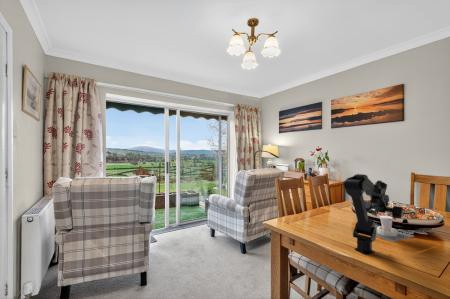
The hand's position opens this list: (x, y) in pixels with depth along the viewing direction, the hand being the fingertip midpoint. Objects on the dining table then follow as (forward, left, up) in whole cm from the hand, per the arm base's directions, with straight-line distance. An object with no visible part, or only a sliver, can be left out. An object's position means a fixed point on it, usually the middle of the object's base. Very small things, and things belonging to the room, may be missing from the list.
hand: (385, 217), depth 127 cm
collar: (+2, +1, -10) cm, 10 cm away
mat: (+2, +1, -10) cm, 11 cm away
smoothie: (+2, +1, -10) cm, 10 cm away
